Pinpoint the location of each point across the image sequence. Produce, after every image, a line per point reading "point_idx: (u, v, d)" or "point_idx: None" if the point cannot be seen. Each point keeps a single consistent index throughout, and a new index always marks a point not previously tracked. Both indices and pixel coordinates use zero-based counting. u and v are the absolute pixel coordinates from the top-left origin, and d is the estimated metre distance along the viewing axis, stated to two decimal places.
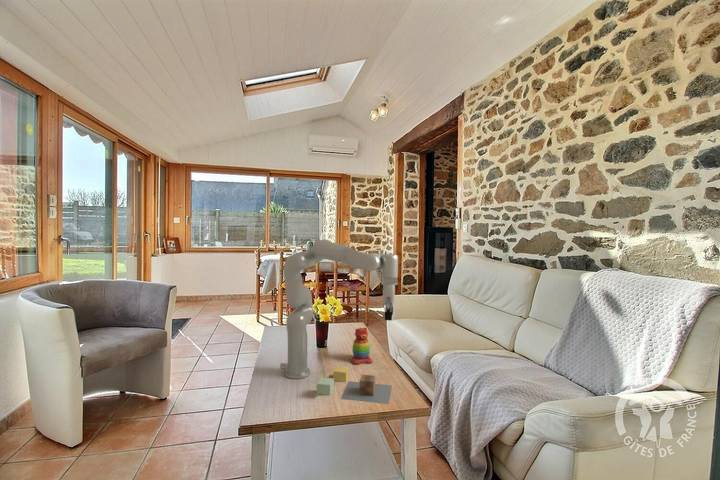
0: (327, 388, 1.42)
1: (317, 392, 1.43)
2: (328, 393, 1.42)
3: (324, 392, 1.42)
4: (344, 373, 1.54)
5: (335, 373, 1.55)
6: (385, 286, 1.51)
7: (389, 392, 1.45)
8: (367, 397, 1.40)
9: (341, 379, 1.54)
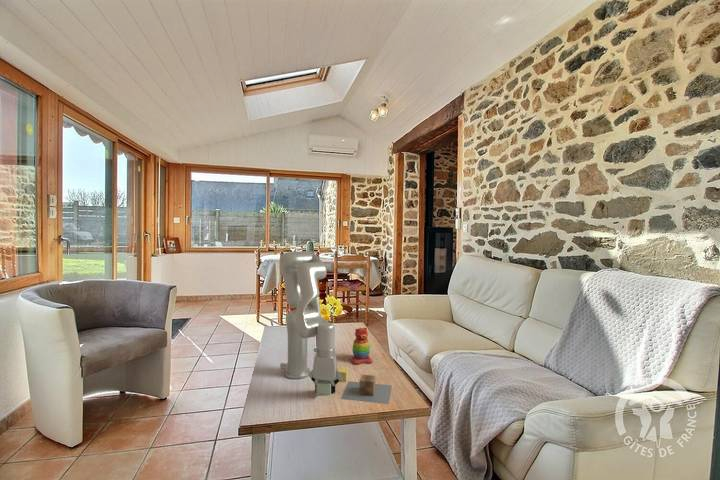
0: (327, 388, 1.42)
1: (317, 392, 1.43)
2: (328, 393, 1.42)
3: (324, 392, 1.42)
4: (344, 373, 1.54)
5: None
6: (334, 358, 1.42)
7: (389, 392, 1.45)
8: (367, 397, 1.40)
9: (341, 379, 1.54)
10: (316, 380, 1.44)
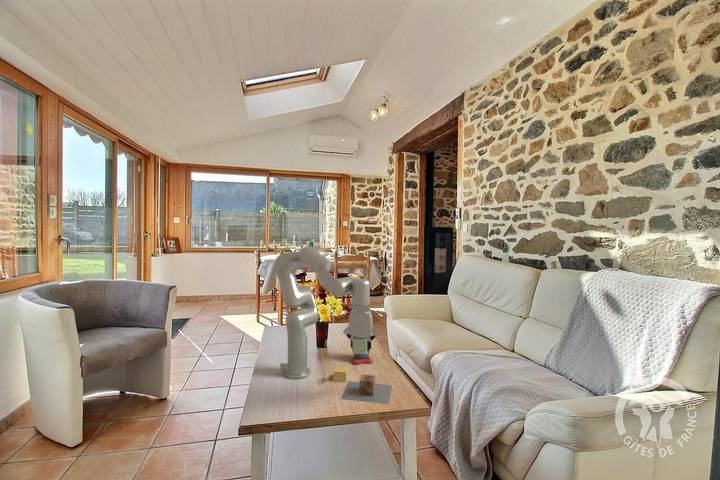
0: (363, 343, 1.41)
1: (353, 348, 1.42)
2: (364, 349, 1.41)
3: (360, 348, 1.41)
4: (344, 373, 1.54)
5: (335, 373, 1.55)
6: (370, 314, 1.41)
7: (389, 392, 1.45)
8: (367, 397, 1.40)
9: (341, 379, 1.54)
10: (352, 336, 1.43)
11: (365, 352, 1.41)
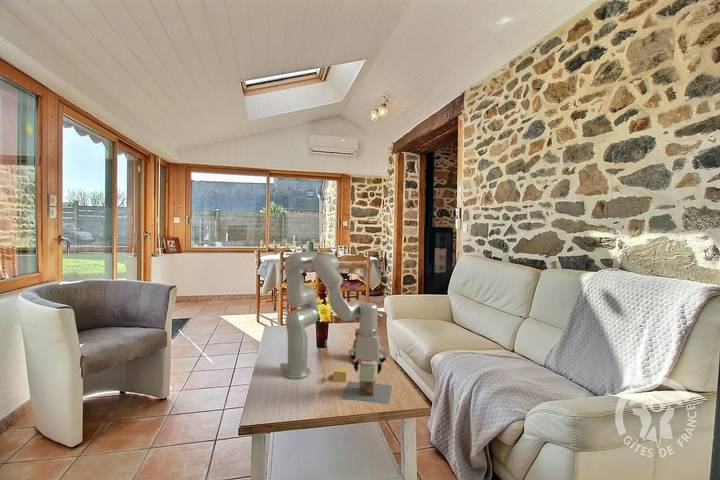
0: (370, 371, 1.41)
1: (360, 375, 1.42)
2: (371, 376, 1.41)
3: (367, 375, 1.42)
4: (344, 373, 1.54)
5: (335, 373, 1.55)
6: (377, 338, 1.42)
7: (389, 392, 1.45)
8: (367, 397, 1.40)
9: (341, 379, 1.54)
10: (355, 358, 1.44)
11: (372, 380, 1.41)
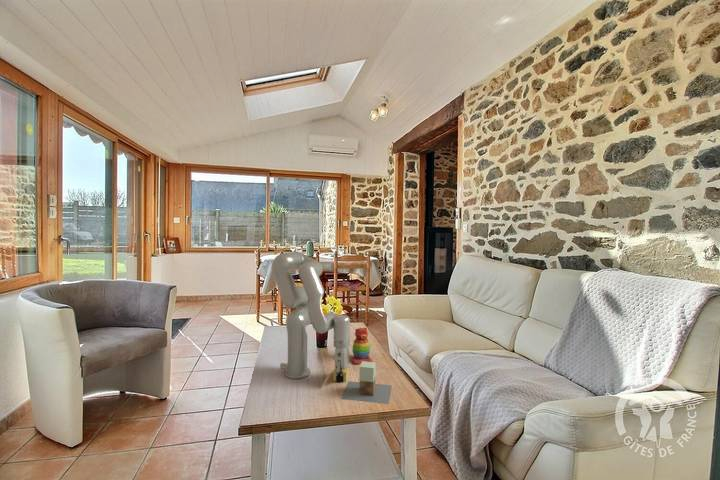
0: (370, 371, 1.41)
1: (360, 375, 1.42)
2: (371, 376, 1.41)
3: (367, 375, 1.42)
4: (344, 373, 1.54)
5: (335, 373, 1.55)
6: None
7: (389, 392, 1.45)
8: (367, 397, 1.40)
9: None
10: (342, 371, 1.53)
11: (372, 380, 1.41)
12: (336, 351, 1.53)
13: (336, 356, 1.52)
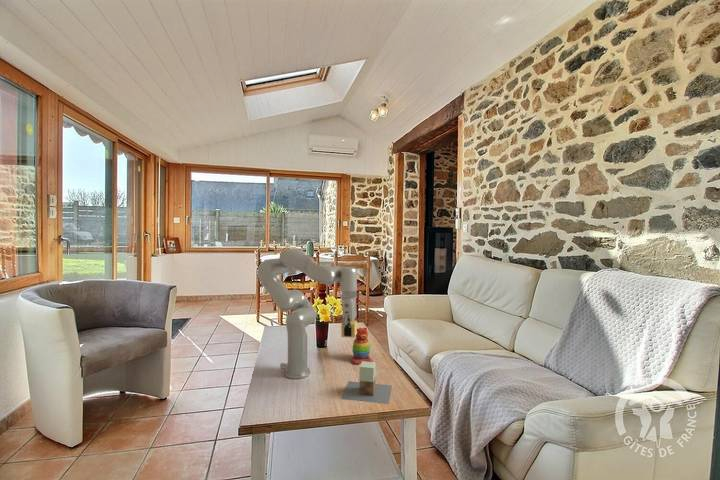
0: (370, 371, 1.41)
1: (360, 375, 1.42)
2: (371, 376, 1.41)
3: (367, 375, 1.42)
4: (352, 325, 1.50)
5: (343, 325, 1.50)
6: None
7: (389, 392, 1.45)
8: (367, 397, 1.40)
9: None
10: (350, 323, 1.49)
11: (372, 380, 1.41)
12: (343, 302, 1.49)
13: (344, 307, 1.48)
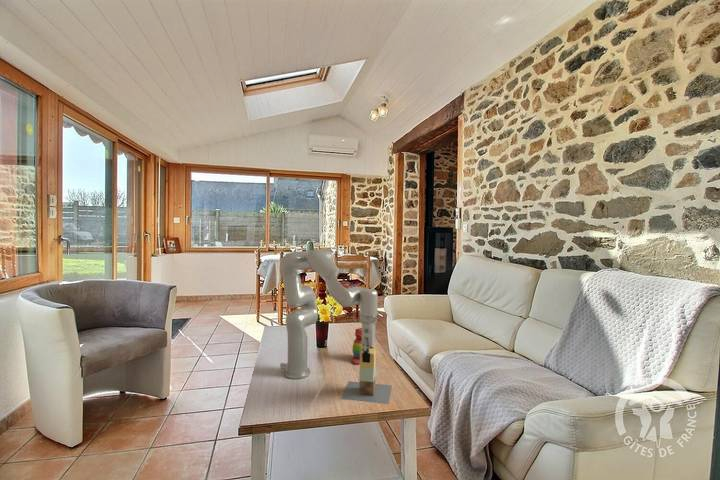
0: (370, 371, 1.41)
1: (360, 375, 1.42)
2: (371, 376, 1.41)
3: (367, 375, 1.42)
4: (372, 354, 1.41)
5: (361, 355, 1.42)
6: None
7: (389, 392, 1.45)
8: (367, 397, 1.40)
9: None
10: (369, 348, 1.39)
11: (372, 380, 1.41)
12: (363, 327, 1.40)
13: (363, 333, 1.40)
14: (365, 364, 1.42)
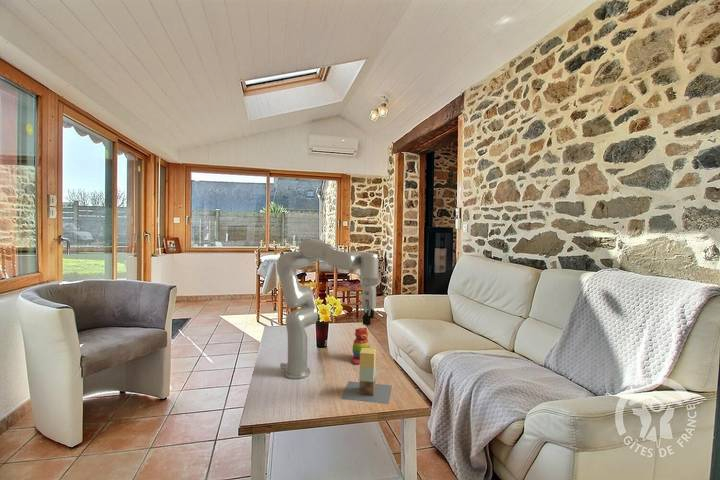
0: (370, 371, 1.41)
1: (360, 375, 1.42)
2: (371, 376, 1.41)
3: (367, 375, 1.42)
4: (372, 354, 1.41)
5: (361, 355, 1.42)
6: None
7: (389, 392, 1.45)
8: (367, 397, 1.40)
9: (369, 361, 1.41)
10: (370, 311, 1.38)
11: (372, 380, 1.41)
12: (364, 289, 1.39)
13: (364, 295, 1.39)
14: (365, 364, 1.42)
